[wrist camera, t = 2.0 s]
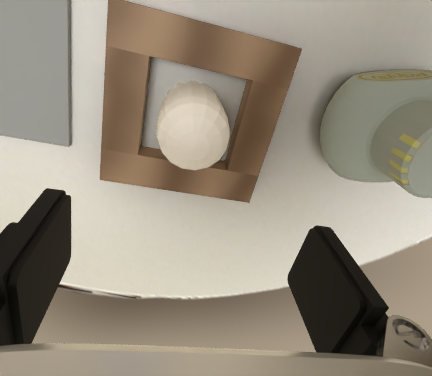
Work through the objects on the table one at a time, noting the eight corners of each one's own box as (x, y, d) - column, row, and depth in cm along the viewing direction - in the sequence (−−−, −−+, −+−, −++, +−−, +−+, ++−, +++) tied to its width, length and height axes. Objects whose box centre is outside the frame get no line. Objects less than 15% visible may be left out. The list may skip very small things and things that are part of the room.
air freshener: (304, 161, 29) (354, 221, 21) (314, 73, 25) (382, 103, 16) (409, 151, 30) (500, 206, 21) (436, 64, 25) (564, 89, 17)
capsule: (207, 70, 24) (217, 91, 17) (230, 127, 27) (246, 165, 20) (150, 96, 25) (136, 127, 18) (178, 149, 27) (175, 194, 20)
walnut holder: (293, 46, 24) (302, 48, 22) (245, 192, 30) (249, 202, 28) (114, -2, 21) (108, -4, 19) (105, 169, 28) (99, 179, 26)
